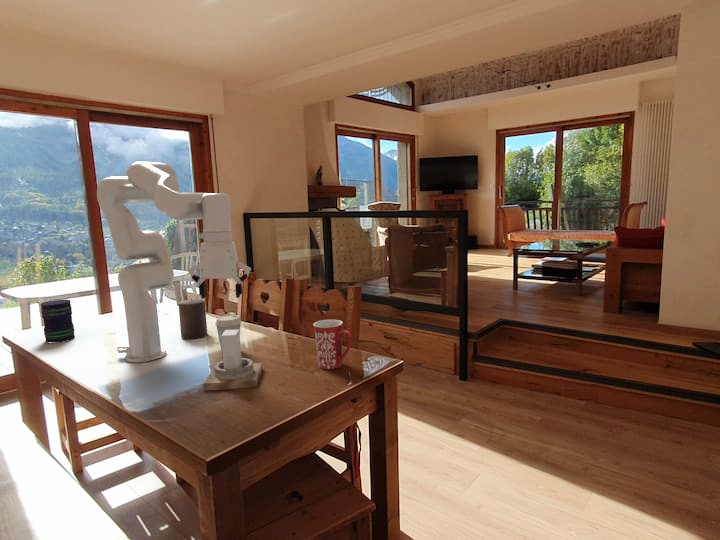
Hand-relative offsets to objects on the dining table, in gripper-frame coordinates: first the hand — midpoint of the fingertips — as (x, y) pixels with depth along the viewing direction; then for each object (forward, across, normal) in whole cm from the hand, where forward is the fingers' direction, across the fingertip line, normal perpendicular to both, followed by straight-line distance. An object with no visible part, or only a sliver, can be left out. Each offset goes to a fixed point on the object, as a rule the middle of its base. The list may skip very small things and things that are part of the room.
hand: (221, 297), depth 130 cm
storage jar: (+27, -74, +50) cm, 93 cm away
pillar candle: (+25, -21, +45) cm, 56 cm away
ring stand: (+24, +3, -4) cm, 24 cm away
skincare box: (+22, +3, -3) cm, 22 cm away
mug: (+23, +32, +2) cm, 40 cm away
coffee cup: (+24, -3, +22) cm, 33 cm away
